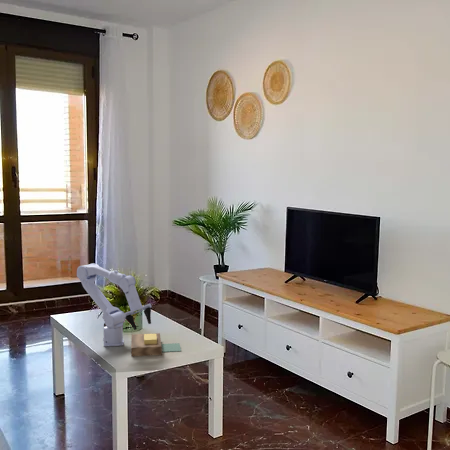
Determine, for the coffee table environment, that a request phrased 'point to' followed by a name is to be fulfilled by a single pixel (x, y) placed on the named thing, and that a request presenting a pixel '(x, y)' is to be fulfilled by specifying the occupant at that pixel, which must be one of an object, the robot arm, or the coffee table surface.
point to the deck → (145, 346)
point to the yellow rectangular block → (150, 339)
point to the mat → (171, 347)
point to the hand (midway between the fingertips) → (142, 326)
